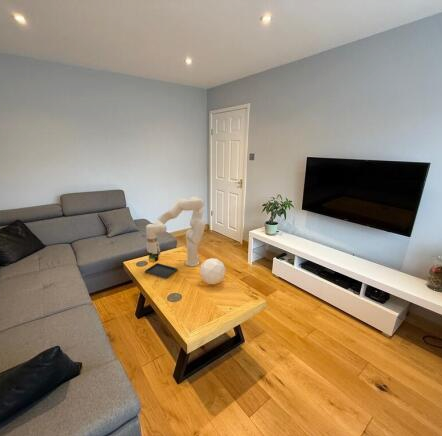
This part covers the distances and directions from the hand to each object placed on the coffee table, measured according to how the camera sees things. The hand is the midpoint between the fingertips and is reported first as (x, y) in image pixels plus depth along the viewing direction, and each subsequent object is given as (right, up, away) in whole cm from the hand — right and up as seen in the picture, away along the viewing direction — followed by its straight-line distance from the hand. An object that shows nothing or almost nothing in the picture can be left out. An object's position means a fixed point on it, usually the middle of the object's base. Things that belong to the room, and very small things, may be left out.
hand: (154, 260), depth 191 cm
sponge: (0, -1, 0) cm, 1 cm away
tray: (+5, -10, +3) cm, 12 cm away
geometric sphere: (+48, -15, -12) cm, 51 cm away
